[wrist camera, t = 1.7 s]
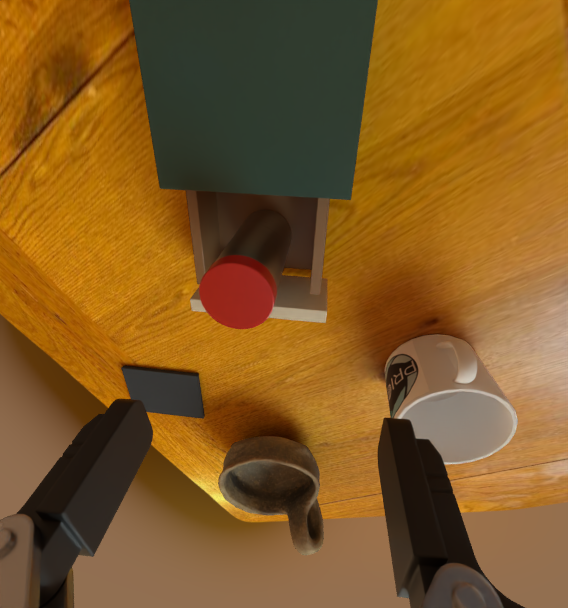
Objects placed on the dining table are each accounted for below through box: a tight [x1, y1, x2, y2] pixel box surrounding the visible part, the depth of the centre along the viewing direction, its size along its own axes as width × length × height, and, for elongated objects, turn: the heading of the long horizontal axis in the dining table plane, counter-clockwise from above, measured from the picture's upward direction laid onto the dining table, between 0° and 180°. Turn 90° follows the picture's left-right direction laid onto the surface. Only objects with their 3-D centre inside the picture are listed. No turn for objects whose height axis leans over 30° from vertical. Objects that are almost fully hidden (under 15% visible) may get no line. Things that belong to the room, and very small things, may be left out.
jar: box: [199, 210, 292, 329], centre depth 24 cm, size 4×4×11 cm
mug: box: [384, 334, 518, 464], centre depth 32 cm, size 13×10×8 cm
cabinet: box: [129, 0, 378, 200], centre depth 21 cm, size 14×13×8 cm
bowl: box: [218, 436, 324, 555], centre depth 44 cm, size 14×18×10 cm
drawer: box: [186, 190, 330, 323], centre depth 27 cm, size 14×11×6 cm
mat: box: [122, 366, 205, 418], centre depth 43 cm, size 10×8×1 cm
